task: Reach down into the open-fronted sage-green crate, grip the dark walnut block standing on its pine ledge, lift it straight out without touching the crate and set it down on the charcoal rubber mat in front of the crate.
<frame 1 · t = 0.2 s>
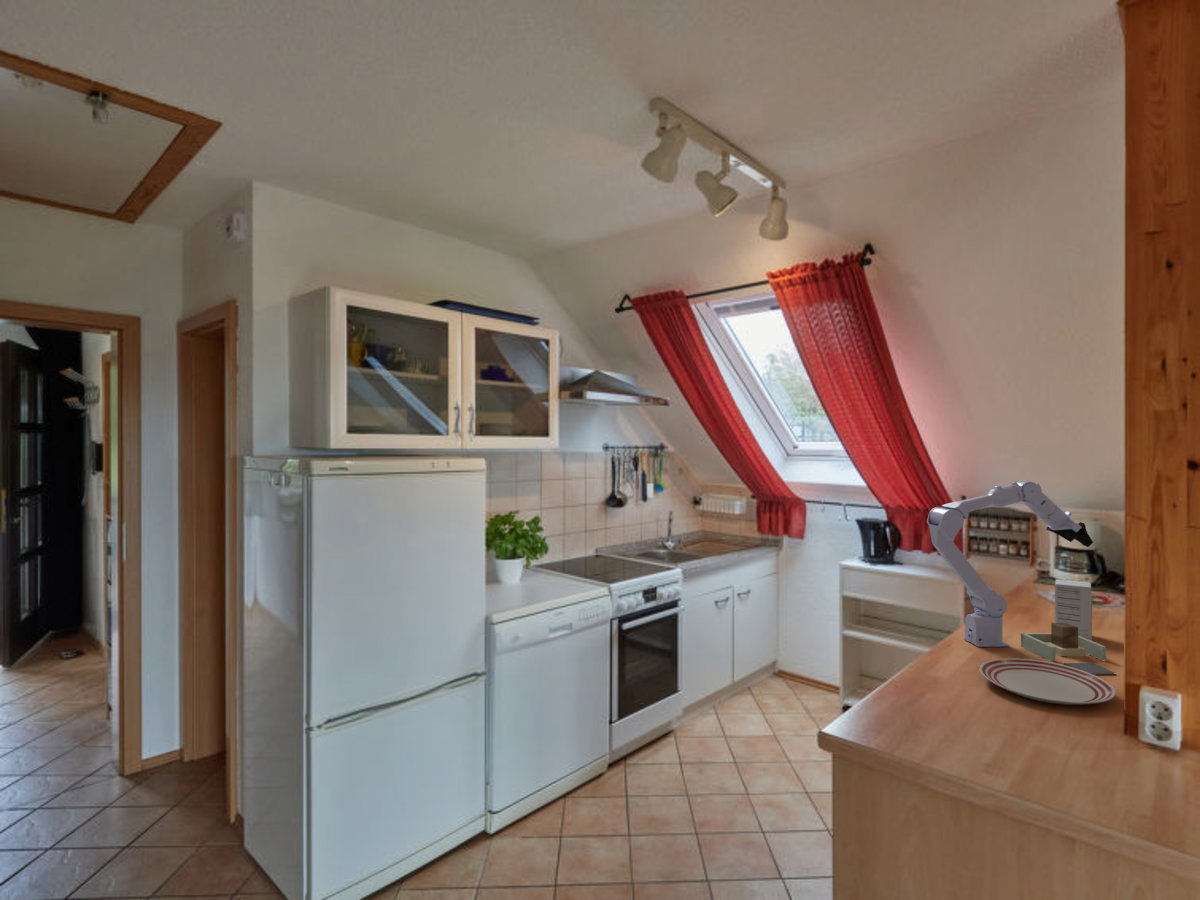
hand: (1081, 541, 190), 31 cm above the worktop, tool tilted 45°, fingers open, 7 cm apart
dinner plate: (1044, 691, 155), on the worktop
block: (1064, 645, 182), point 2 cm above the worktop, touching crate
mat: (1089, 669, 168), on the worktop
supplement box: (1073, 637, 197), on the worktop
crate: (1062, 653, 181), on the worktop
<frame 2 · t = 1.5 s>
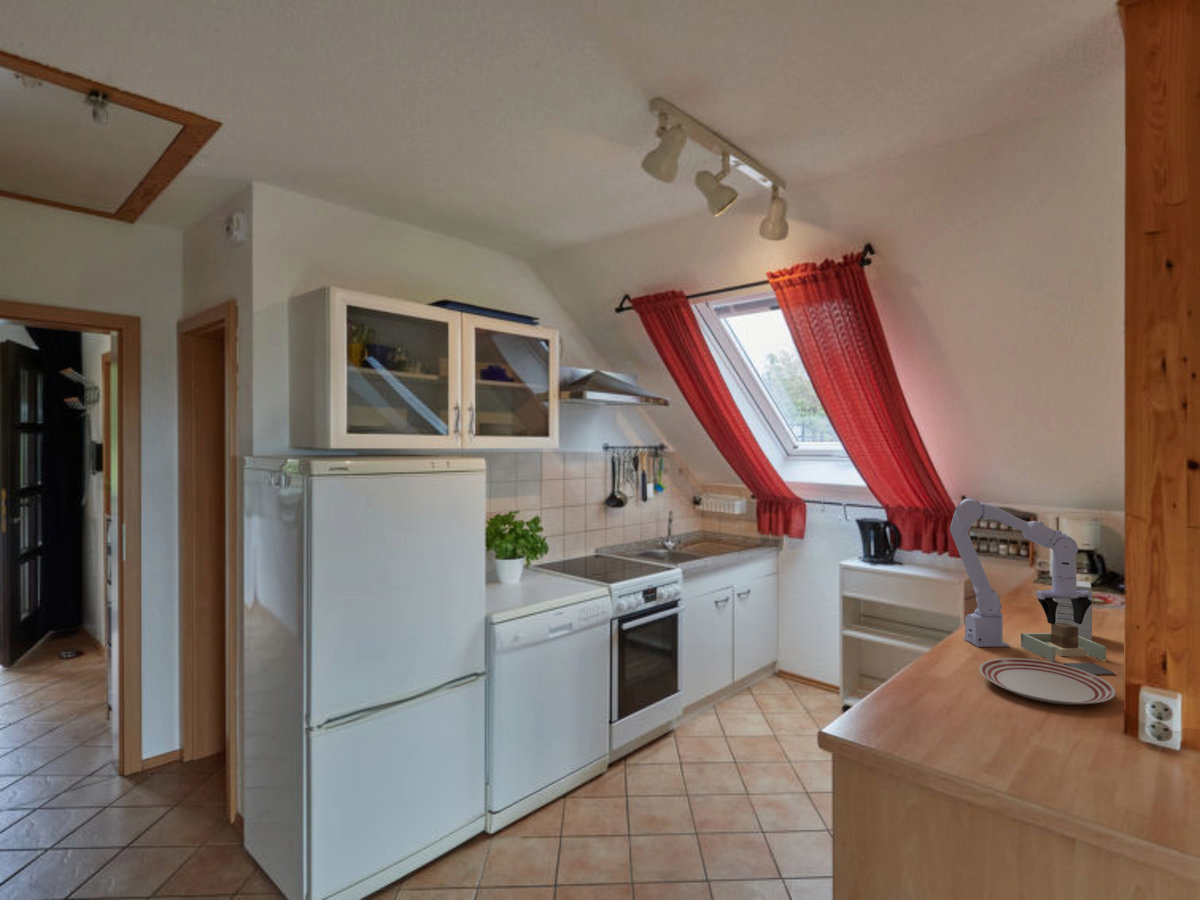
hand: (1064, 623, 182), 8 cm above the worktop, tool pointing down, fingers open, 7 cm apart
nothing on the worktop moved.
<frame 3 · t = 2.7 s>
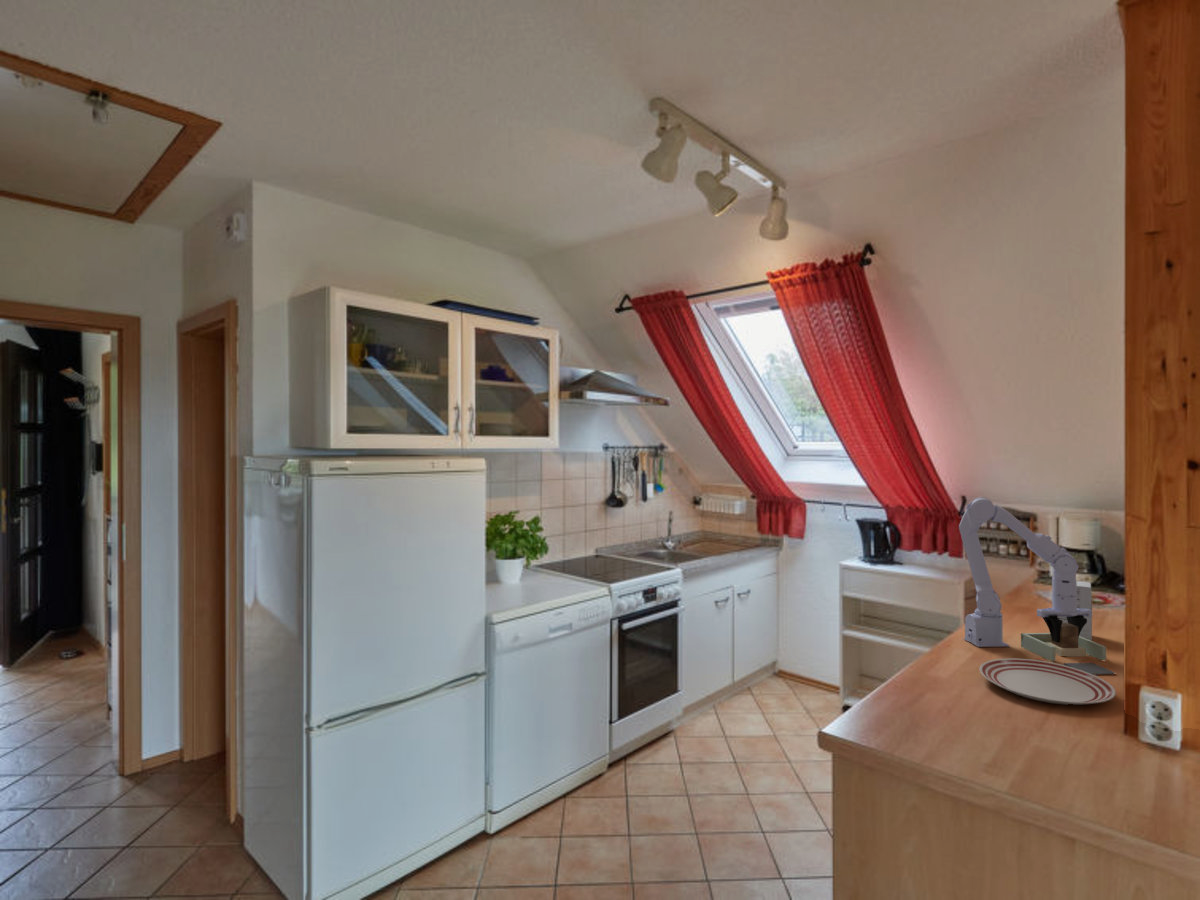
hand: (1064, 641, 182), 3 cm above the worktop, tool pointing down, fingers closed on block, 4 cm apart
block: (1064, 645, 182), point 2 cm above the worktop, touching crate, gripper
everything else where it was.
when the fingers open (3 cm above the worktop, at t = 6.0 s): block stays where it is, resting on mat.
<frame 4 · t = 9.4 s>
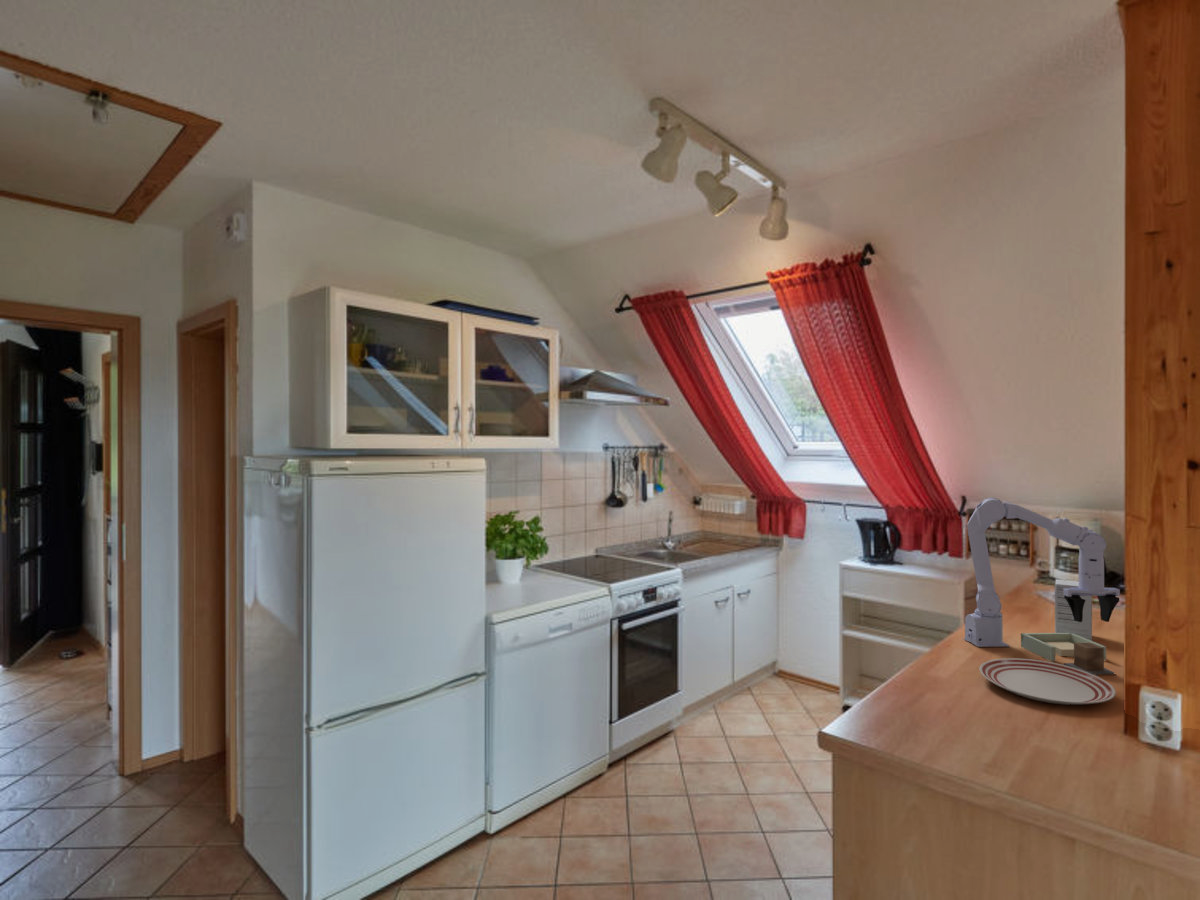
hand: (1091, 621, 179), 10 cm above the worktop, tool pointing down, fingers open, 7 cm apart
block: (1088, 667, 168), resting on mat
everything else where it was.
at the end: block inside the target area on the mat (0.3 cm from its centre), point 0.4 cm above the mat's base; block tilted 0°; the gripper is holding nothing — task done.
